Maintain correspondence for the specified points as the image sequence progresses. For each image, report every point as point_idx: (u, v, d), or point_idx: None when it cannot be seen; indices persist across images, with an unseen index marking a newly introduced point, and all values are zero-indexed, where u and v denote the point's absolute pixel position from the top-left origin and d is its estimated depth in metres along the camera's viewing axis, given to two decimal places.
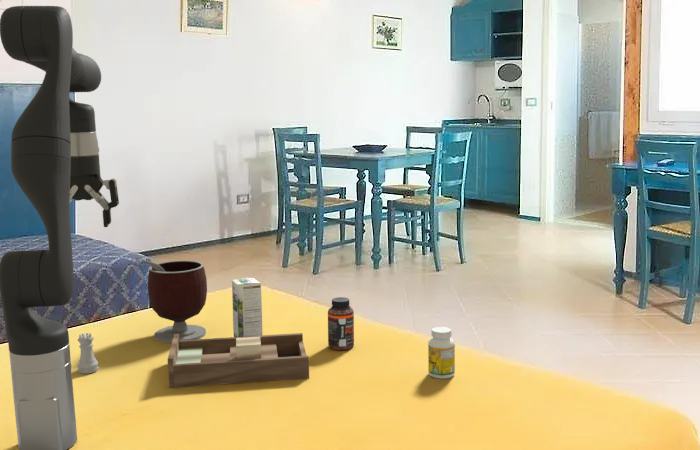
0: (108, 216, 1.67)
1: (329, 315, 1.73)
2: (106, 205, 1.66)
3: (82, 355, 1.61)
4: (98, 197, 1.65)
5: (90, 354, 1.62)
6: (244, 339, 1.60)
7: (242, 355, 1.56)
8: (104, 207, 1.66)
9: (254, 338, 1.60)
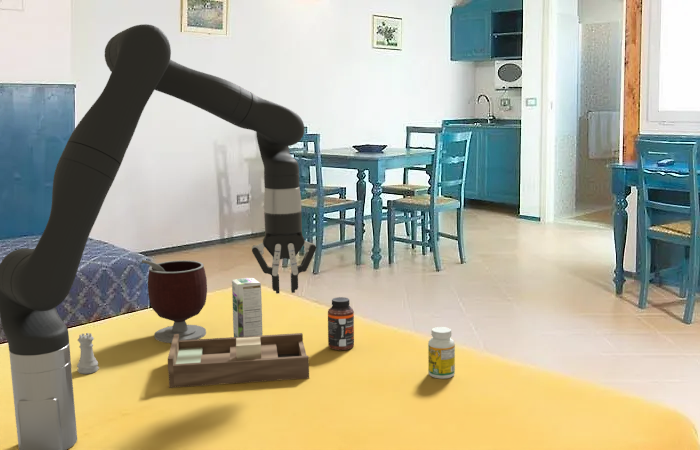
0: (296, 281, 1.57)
1: (329, 315, 1.73)
2: (295, 270, 1.56)
3: (82, 355, 1.61)
4: (294, 260, 1.55)
5: (90, 354, 1.62)
6: (244, 339, 1.60)
7: (242, 355, 1.56)
8: (293, 272, 1.56)
9: (254, 338, 1.60)
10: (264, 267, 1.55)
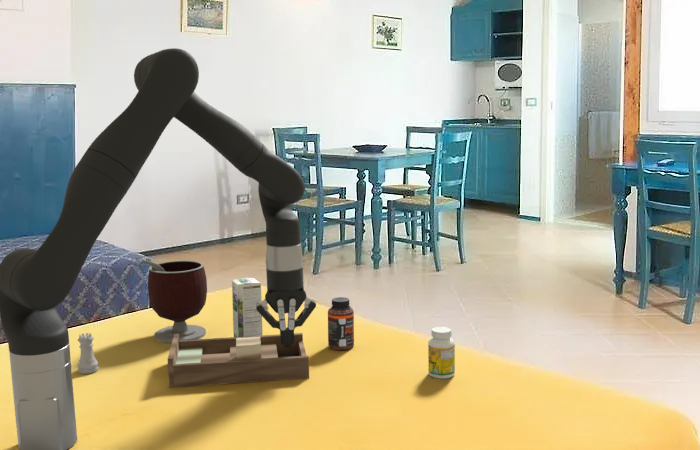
0: (292, 335, 1.59)
1: (329, 315, 1.73)
2: (291, 325, 1.58)
3: (82, 355, 1.61)
4: (293, 315, 1.58)
5: (90, 354, 1.62)
6: (244, 339, 1.60)
7: (242, 355, 1.56)
8: (289, 327, 1.58)
9: (254, 338, 1.60)
10: (272, 322, 1.58)
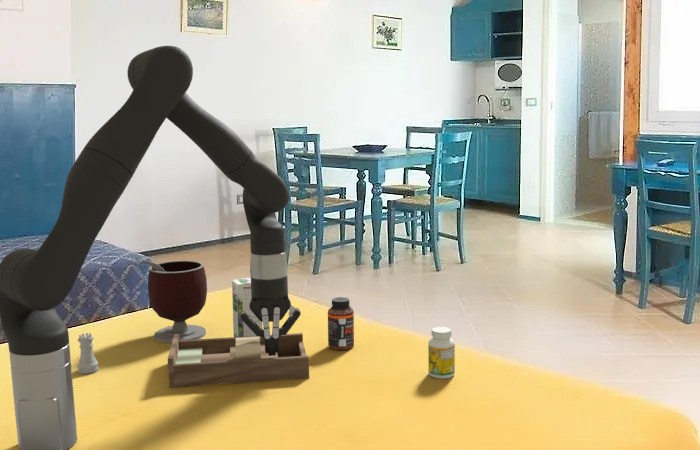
0: (277, 344, 1.59)
1: (329, 315, 1.73)
2: (276, 333, 1.58)
3: (82, 355, 1.61)
4: (277, 324, 1.57)
5: (90, 354, 1.62)
6: (243, 339, 1.60)
7: (241, 355, 1.56)
8: (273, 335, 1.58)
9: (253, 338, 1.60)
10: (256, 330, 1.57)
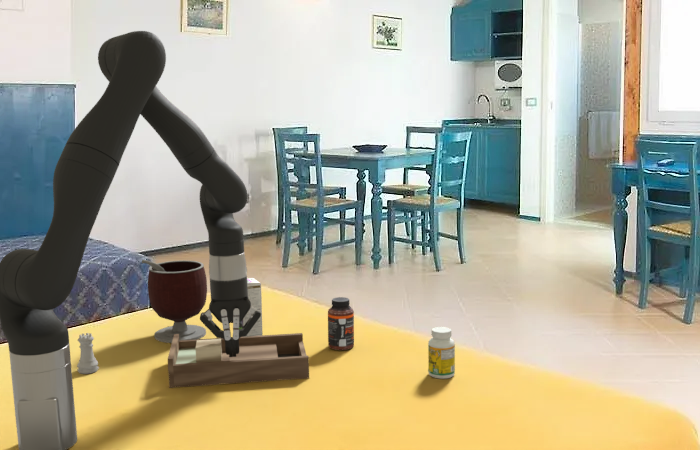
0: (237, 345, 1.58)
1: (329, 315, 1.73)
2: (236, 335, 1.57)
3: (82, 355, 1.61)
4: (237, 325, 1.56)
5: (90, 354, 1.62)
6: (204, 341, 1.59)
7: (201, 357, 1.55)
8: (234, 337, 1.57)
9: (215, 340, 1.59)
10: (216, 332, 1.56)
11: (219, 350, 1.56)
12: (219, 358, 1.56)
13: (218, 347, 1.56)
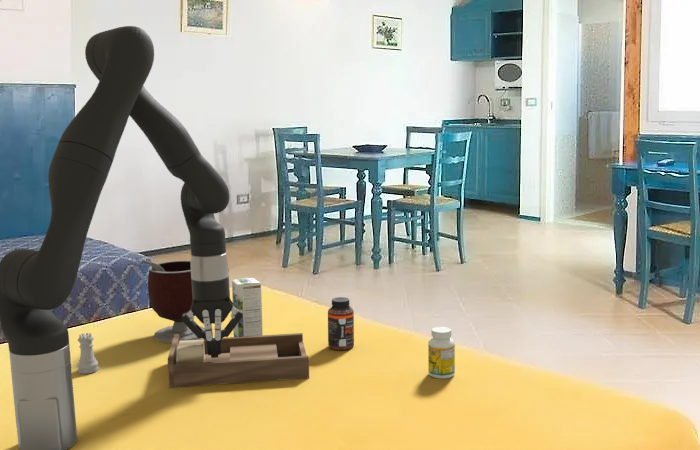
0: (219, 346, 1.57)
1: (329, 315, 1.73)
2: (218, 335, 1.56)
3: (82, 355, 1.61)
4: (219, 326, 1.56)
5: (90, 354, 1.62)
6: (187, 342, 1.59)
7: (183, 358, 1.55)
8: (215, 337, 1.56)
9: (197, 341, 1.59)
10: (197, 332, 1.56)
11: (201, 351, 1.55)
12: (201, 359, 1.56)
13: (200, 348, 1.55)
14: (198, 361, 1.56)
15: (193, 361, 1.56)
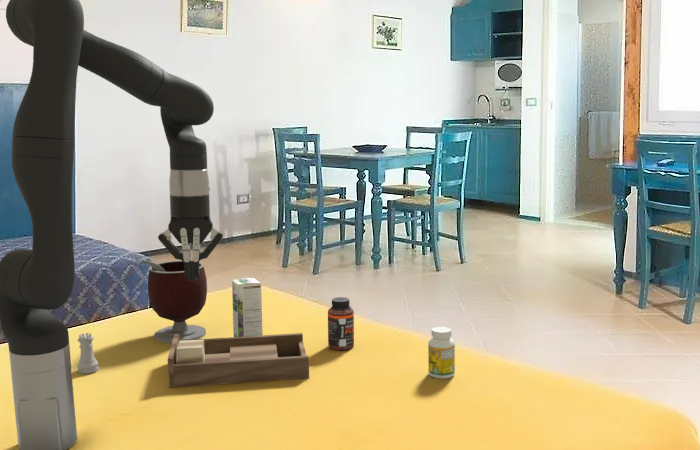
0: (197, 268, 1.50)
1: (329, 315, 1.73)
2: (196, 256, 1.49)
3: (82, 355, 1.61)
4: (197, 246, 1.49)
5: (90, 354, 1.62)
6: (187, 342, 1.59)
7: (183, 358, 1.55)
8: (193, 259, 1.49)
9: (197, 341, 1.59)
10: (174, 252, 1.49)
11: (201, 351, 1.55)
12: (201, 359, 1.56)
13: (200, 348, 1.55)
14: (198, 361, 1.56)
15: (193, 361, 1.56)
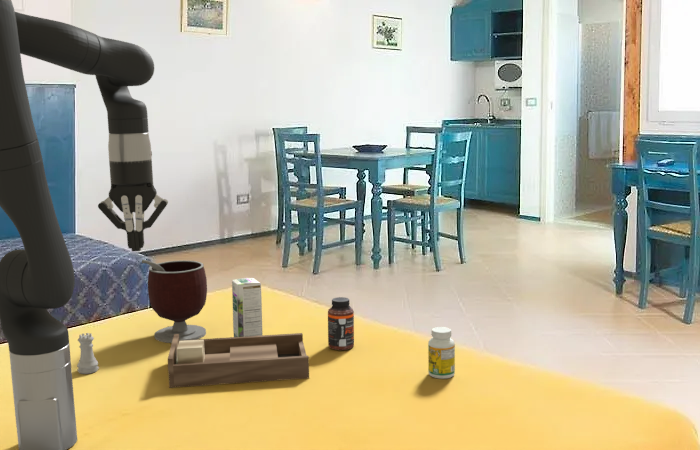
0: (141, 238, 1.42)
1: (329, 315, 1.73)
2: (139, 225, 1.42)
3: (82, 355, 1.61)
4: (140, 214, 1.41)
5: (90, 354, 1.62)
6: (187, 342, 1.59)
7: (183, 358, 1.55)
8: (136, 228, 1.42)
9: (197, 341, 1.59)
10: (116, 222, 1.41)
11: (201, 351, 1.55)
12: (201, 359, 1.56)
13: (200, 348, 1.55)
14: (198, 361, 1.56)
15: (193, 361, 1.56)
